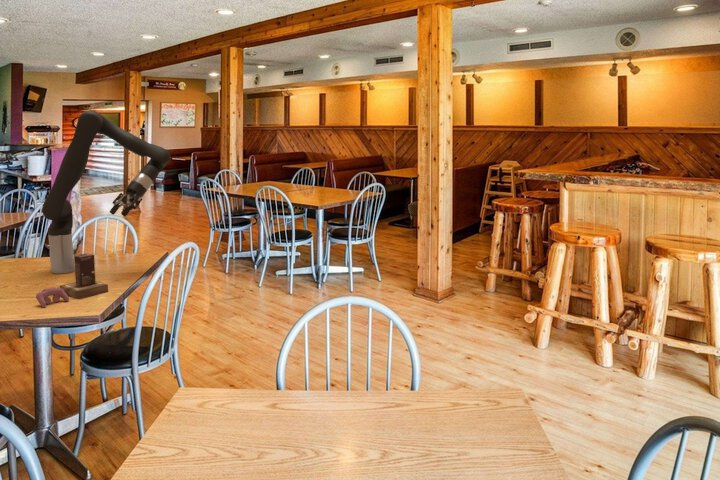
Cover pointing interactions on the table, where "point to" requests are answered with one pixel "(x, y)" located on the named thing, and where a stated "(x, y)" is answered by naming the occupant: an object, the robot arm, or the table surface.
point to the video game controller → (52, 291)
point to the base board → (84, 289)
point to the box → (84, 269)
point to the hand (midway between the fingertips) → (117, 214)
